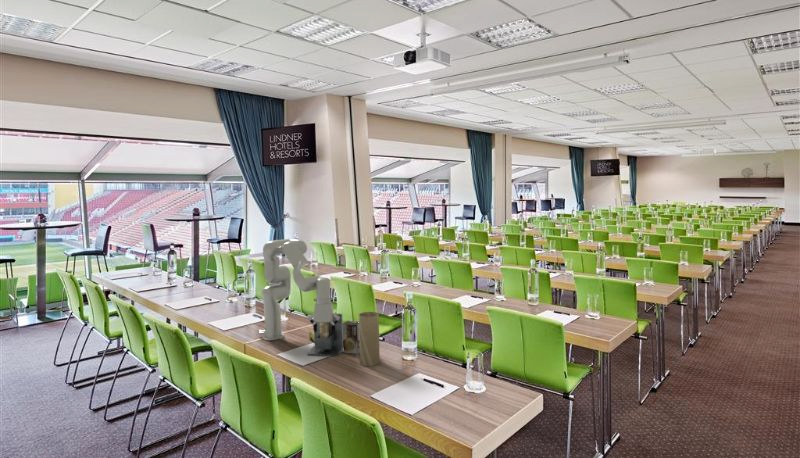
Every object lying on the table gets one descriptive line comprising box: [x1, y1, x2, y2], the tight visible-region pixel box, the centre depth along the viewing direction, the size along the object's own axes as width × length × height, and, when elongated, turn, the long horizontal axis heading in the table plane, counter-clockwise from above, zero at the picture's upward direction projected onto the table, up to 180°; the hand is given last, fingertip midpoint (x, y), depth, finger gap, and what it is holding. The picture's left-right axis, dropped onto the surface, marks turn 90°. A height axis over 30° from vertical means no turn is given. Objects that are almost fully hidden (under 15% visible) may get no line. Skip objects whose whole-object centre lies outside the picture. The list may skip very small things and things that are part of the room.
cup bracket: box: [306, 313, 344, 357], centre depth 261 cm, size 16×16×19 cm
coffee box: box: [342, 320, 360, 355], centre depth 260 cm, size 9×6×16 cm
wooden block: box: [320, 322, 329, 338], centre depth 259 cm, size 4×4×14 cm
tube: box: [358, 311, 381, 367], centre depth 243 cm, size 10×10×25 cm
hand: (324, 331), depth 259 cm, fingers open, 9 cm apart
